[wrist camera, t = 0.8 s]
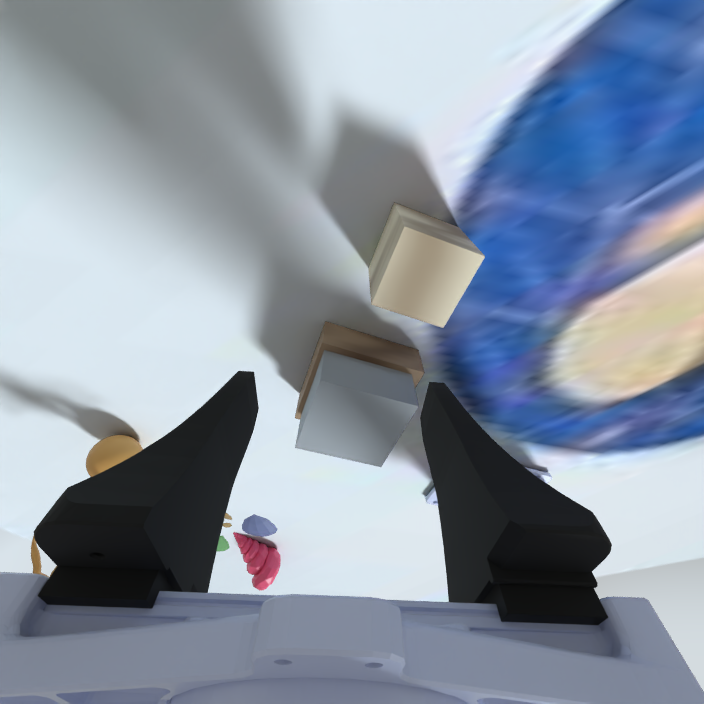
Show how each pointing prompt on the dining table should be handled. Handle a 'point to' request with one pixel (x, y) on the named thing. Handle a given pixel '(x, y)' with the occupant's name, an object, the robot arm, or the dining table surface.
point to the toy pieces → (256, 550)
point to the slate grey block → (356, 409)
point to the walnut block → (360, 355)
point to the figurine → (98, 470)
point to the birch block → (421, 266)
